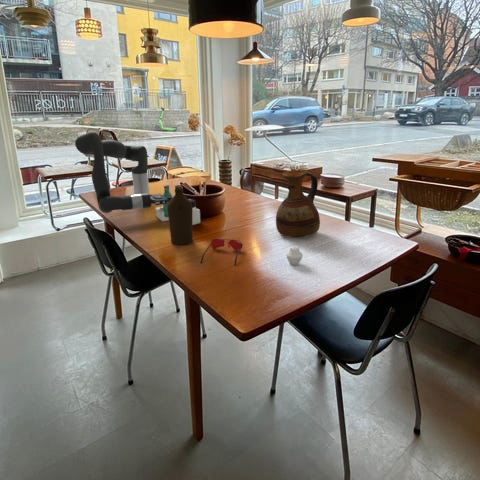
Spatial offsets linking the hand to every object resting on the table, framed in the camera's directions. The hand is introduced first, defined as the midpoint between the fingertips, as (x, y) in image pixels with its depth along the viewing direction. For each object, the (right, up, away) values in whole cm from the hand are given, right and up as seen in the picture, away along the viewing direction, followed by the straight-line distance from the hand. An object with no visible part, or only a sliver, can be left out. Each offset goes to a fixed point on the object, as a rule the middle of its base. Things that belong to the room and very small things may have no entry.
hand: (172, 197), depth 194 cm
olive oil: (+10, -23, -31) cm, 40 cm away
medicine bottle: (+11, -14, -6) cm, 19 cm away
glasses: (+29, -29, -46) cm, 62 cm away
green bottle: (-2, -9, +2) cm, 10 cm away
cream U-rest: (-2, -10, +3) cm, 11 cm away
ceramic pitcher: (+62, -20, -22) cm, 69 cm away
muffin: (+56, -32, -53) cm, 84 cm away
